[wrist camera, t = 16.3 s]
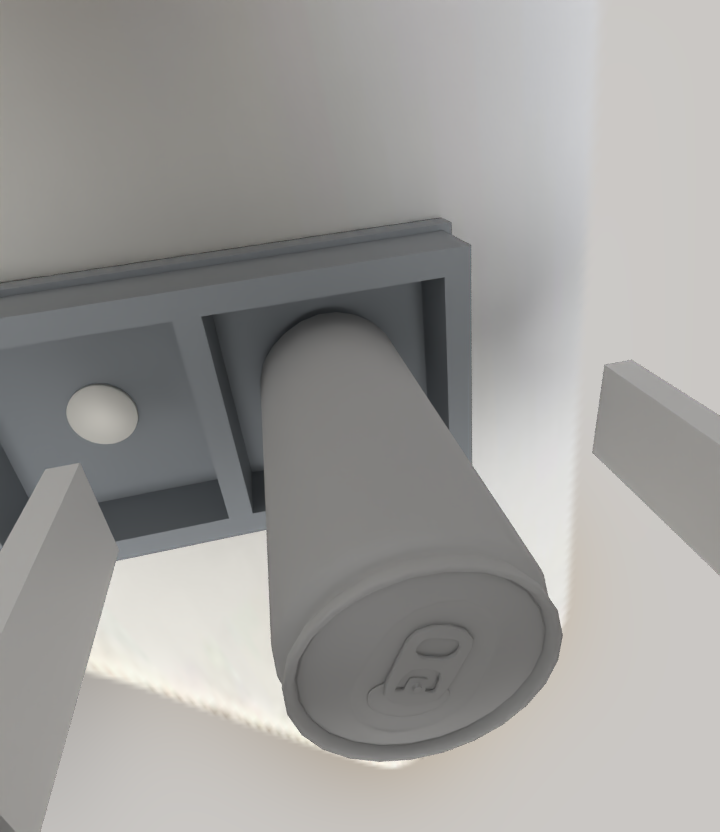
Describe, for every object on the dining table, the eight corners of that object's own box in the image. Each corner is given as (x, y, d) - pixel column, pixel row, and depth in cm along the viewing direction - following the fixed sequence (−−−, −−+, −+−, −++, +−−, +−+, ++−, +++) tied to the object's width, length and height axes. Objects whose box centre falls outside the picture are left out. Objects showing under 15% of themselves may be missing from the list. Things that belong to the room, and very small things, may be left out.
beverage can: (245, 418, 19) (239, 765, 9) (281, 288, 17) (328, 535, 7) (370, 444, 21) (493, 769, 10) (416, 327, 19) (626, 580, 8)
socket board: (-95, 297, 16) (-172, 336, 13) (441, 217, 18) (480, 236, 15) (26, 524, 21) (-11, 592, 18) (448, 441, 23) (479, 489, 20)
